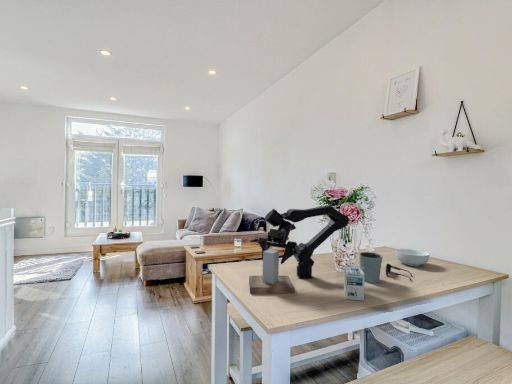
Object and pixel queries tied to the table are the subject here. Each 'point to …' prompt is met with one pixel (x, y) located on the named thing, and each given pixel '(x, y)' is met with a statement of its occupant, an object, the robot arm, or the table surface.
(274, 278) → the slate block
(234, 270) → the table surface
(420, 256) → the cereal bowl
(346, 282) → the light bulb box
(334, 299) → the table surface
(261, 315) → the table surface
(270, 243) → the robot arm
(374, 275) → the grey green cup
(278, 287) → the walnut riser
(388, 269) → the sunglasses
